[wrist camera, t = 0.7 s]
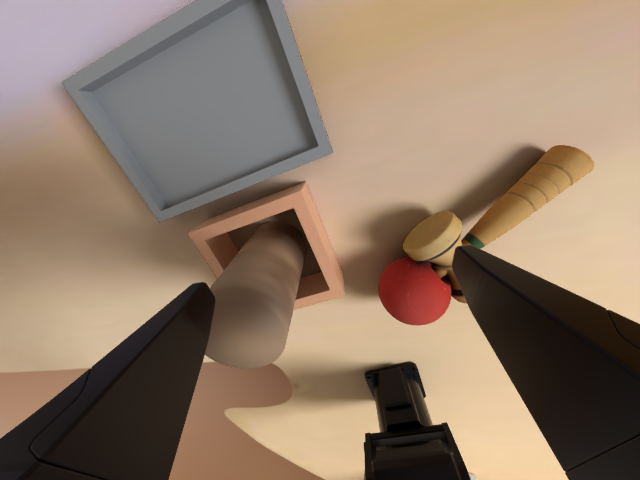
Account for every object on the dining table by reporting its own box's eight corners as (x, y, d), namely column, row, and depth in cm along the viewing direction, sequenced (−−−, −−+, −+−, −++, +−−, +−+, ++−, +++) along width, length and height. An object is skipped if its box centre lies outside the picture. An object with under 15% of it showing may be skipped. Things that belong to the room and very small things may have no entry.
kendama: (506, 117, 19) (349, 271, 23) (606, 113, 13) (375, 320, 17) (539, 181, 22) (397, 306, 26) (630, 200, 16) (431, 356, 20)
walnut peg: (314, 262, 24) (301, 358, 14) (266, 277, 25) (220, 376, 15) (292, 213, 22) (257, 283, 12) (240, 232, 23) (168, 311, 13)
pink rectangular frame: (343, 274, 24) (344, 295, 21) (257, 299, 26) (246, 322, 23) (305, 181, 20) (300, 190, 17) (208, 218, 22) (187, 233, 19)
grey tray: (332, 150, 19) (332, 153, 17) (173, 215, 22) (159, 222, 20) (274, -22, 15) (266, -43, 13) (88, 87, 18) (61, 82, 16)
